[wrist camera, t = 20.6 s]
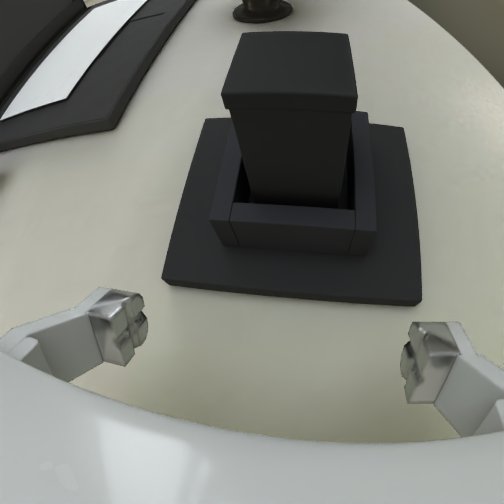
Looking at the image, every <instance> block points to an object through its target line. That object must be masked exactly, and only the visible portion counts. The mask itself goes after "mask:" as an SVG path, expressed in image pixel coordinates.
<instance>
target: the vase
mask: <svg viewBox="0 0 504 504" xmlns="http://www.w3.org/2000/svg"><path fill="white" fill-rule="evenodd" d="M291 12H292V7H291V5H290V4H289V3H287V2H286V1H283V0H243V4H241V5H239V6H238V7H236V8H235V9H234V12H233V17H234V18H235V19H236V20H239V21H243V22H253V23H260V22H268V21H273V20H278V19H281V18H283V17H286V16H288V15H289V14H290V13H291Z"/></svg>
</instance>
